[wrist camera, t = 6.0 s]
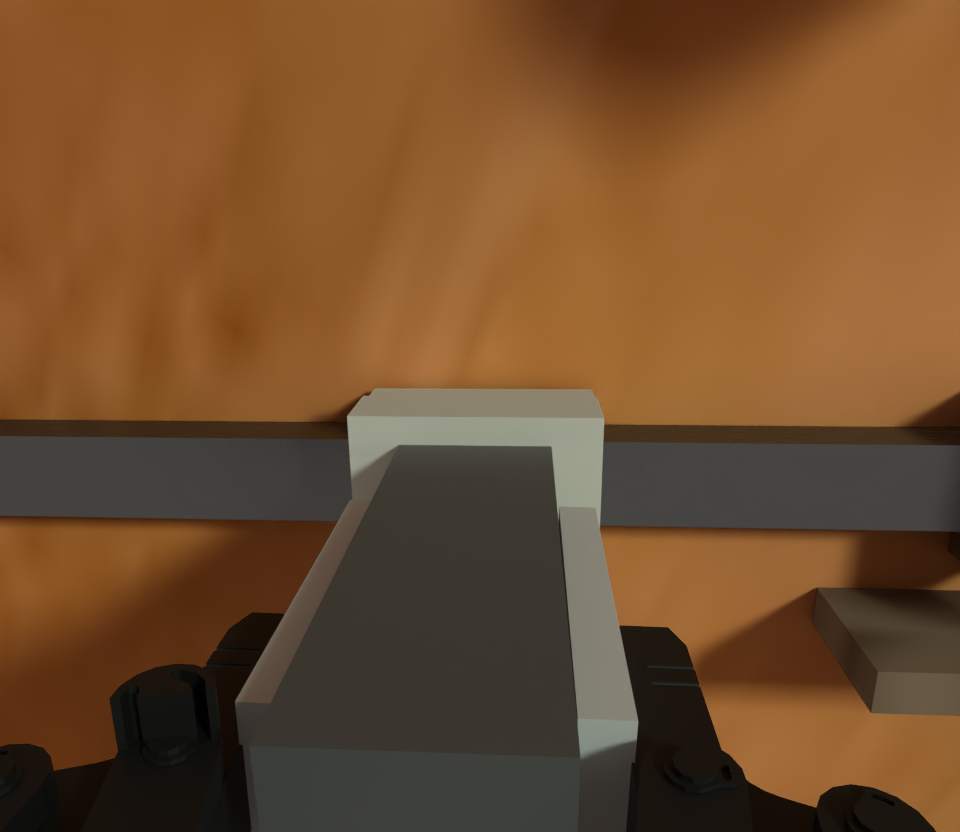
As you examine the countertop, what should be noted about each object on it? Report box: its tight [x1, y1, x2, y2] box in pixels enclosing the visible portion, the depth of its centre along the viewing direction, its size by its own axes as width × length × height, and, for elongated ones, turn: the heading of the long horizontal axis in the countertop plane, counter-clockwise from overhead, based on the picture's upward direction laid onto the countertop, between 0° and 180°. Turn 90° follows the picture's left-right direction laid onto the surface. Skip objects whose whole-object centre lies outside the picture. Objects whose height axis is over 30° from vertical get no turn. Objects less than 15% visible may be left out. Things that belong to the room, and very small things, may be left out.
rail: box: [0, 420, 960, 560], centre depth 20 cm, size 33×5×3 cm, turn 91°
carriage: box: [249, 388, 604, 832], centre depth 16 cm, size 6×15×13 cm, turn 1°
